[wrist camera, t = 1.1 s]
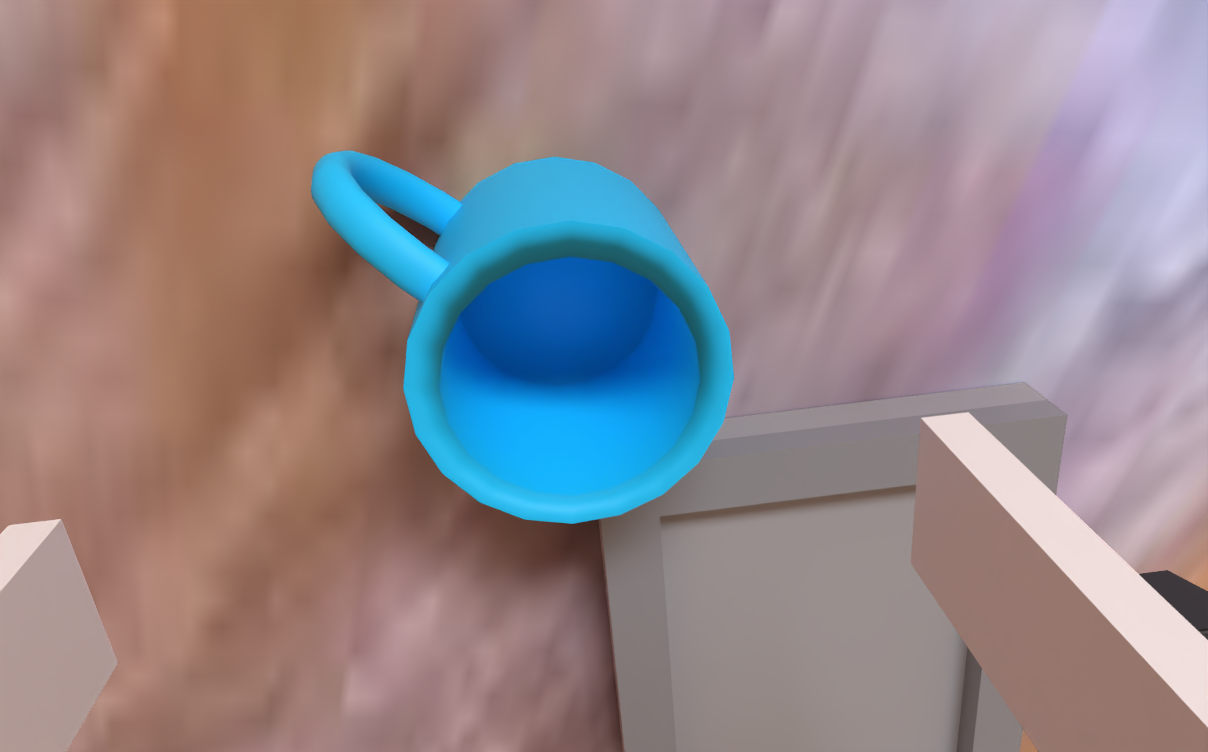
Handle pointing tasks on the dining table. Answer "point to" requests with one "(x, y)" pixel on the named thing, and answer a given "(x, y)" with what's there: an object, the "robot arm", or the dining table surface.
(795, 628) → the tray
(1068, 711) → the robot arm
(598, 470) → the mug
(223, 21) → the dining table surface
